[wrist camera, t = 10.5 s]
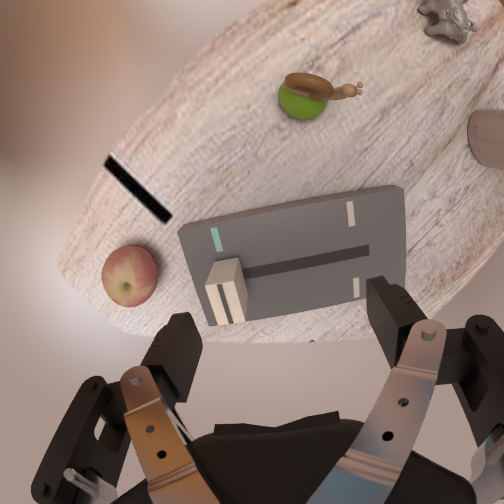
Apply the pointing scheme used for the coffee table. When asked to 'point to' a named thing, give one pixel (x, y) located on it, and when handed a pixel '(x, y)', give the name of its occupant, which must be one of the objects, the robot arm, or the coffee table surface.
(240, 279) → the fader
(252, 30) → the coffee table surface
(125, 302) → the apple
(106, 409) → the robot arm
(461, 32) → the grey animal figurine
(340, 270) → the fader console
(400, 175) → the coffee table surface
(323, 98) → the snail figurine
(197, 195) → the coffee table surface
